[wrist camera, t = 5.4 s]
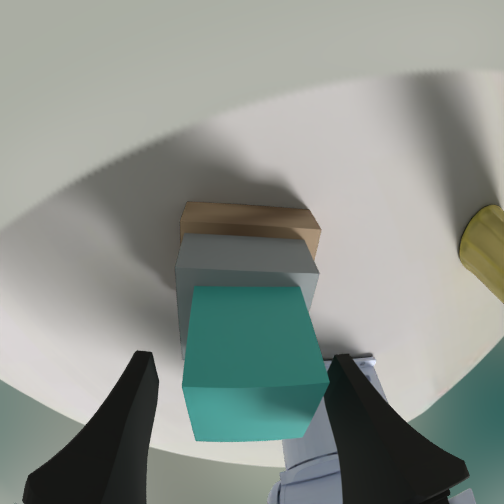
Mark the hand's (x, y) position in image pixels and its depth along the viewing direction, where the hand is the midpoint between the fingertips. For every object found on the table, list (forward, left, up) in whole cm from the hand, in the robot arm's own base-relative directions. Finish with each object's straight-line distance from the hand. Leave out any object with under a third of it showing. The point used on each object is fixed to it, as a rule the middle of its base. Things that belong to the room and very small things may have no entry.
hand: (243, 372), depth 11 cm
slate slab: (0, 0, -6) cm, 6 cm away
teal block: (0, 0, -3) cm, 3 cm away
